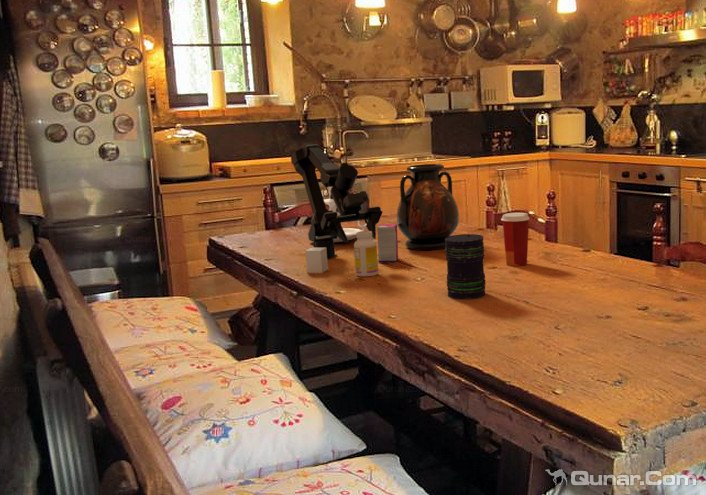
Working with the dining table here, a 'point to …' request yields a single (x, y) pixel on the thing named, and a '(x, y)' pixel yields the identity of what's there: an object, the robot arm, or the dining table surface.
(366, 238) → the supplement bottle
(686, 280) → the dining table surface
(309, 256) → the grey block
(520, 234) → the coffee cup
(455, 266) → the storage jar
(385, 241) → the supplement box
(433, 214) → the amphora vase
